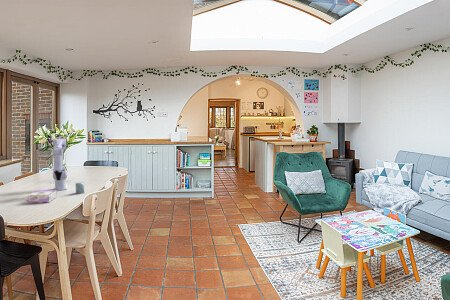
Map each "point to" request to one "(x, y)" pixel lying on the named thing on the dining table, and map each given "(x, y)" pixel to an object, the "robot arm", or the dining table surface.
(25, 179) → the dining table surface
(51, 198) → the candy box
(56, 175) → the robot arm
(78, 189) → the rounded blue cylinder
